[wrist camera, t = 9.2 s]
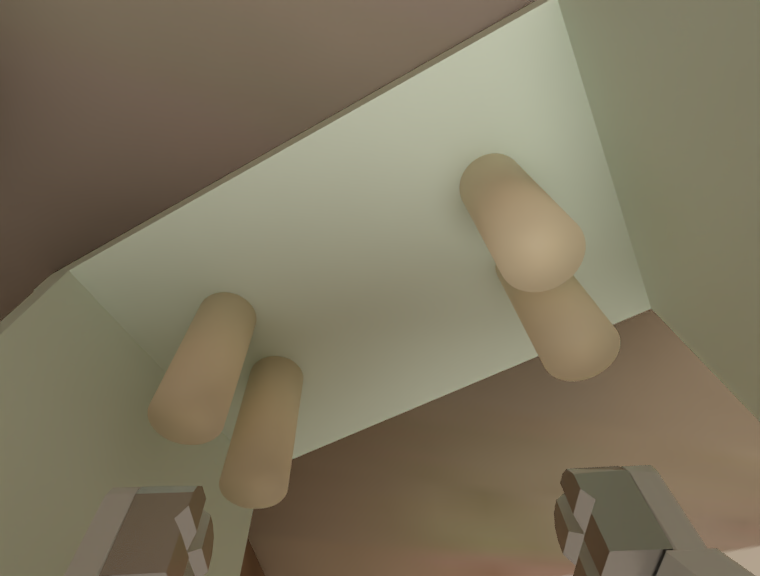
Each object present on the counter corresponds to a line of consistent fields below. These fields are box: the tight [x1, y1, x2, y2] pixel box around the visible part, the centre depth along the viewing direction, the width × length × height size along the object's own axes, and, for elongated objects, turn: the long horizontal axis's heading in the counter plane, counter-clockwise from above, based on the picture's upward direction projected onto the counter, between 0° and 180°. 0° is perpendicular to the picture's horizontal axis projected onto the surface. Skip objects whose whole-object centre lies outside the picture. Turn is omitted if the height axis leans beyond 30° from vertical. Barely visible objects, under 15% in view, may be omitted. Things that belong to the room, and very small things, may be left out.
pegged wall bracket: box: [0, 0, 760, 576], centre depth 12 cm, size 18×10×10 cm, turn 118°
